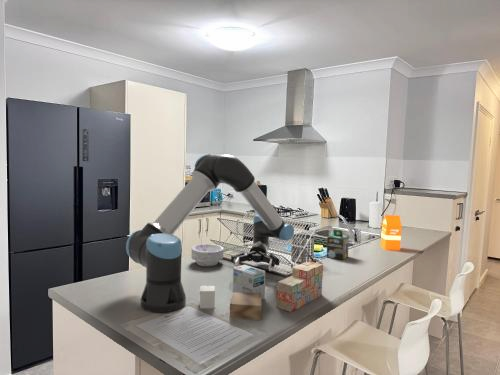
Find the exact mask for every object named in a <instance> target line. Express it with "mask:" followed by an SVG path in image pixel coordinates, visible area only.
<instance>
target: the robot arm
mask: <svg viewBox="0 0 500 375" xmlns="http://www.w3.org/2000/svg"><path fill="white" fill-rule="evenodd" d="M191 176H192V178H191V179H190V180H189V181H188V183H186V185H185V186H184V187H183V188H182V189H181V190H180V191H179V192H178V194H177V195H176V196H175V197H174V198H173V200H172V201H170V203H169V204H168V206H166V208H164V210H163V211H162V212H161V213H160V214H159V216H158V217H157V218H156V219H155V220H154V221H152V222H146V225H144V226H143V228H142V229H139V230H136V231H134V232H132V233H131V234H130V235H129V236H128V238H127V240H126V243H125V252H126V254H127V255H128V257H129V258H130V259H131V260H132V261H133V262H135V263H136V264H139V265H140V266H142V267H144V268H146V270H145V271H146V274H145V275H146V276H145V277H146V279H145V280H146V281H145V282H146V283H145V286H144V289H143V292H142V294H141V297H140V307H141V309H143V310H144V311H147V312H151V313H169V312H174V311H177V310H179V309H182V308H183V307H184V306H185V305H186V301H187V297H186V292H185V290H184V287H183V283H182V253H183V247H182V240H181V239H180V238H179V237H178V236H177V235H174V233H175V232H176V231H177V230H178V229H179V228H180V226H181V225H182V224H183V223H184V222H185V221H186V219H187V218H188V217H189V216H190V215H191V214H192V212H193V211H194V209H196V207H197V206H198V205H199V203H200V202H201V201H202V200H203V199H204V198H205V197H206V195H207V194H208V193H209V192H213V191H215V190H216V189H217V188H218V186H219V185H220V184H225V185H228V186H229V187H231V188H232V189H233V190H234V191H235V192H236V193H239V194H240V195H241V196H242V197H243V198H244V200H245V201H246V203H247V204H248V205H249V207H250V208H252V210H253V211H254V212H255V213H256V214H254V217H253V231H252V232H253V236H252V237H253V238H252V246H251V248H250V250H249V252H247V253H246V252H245V251H244V250H243V251H241V252H239V253H237V254H233V255H232V256H230V263H232V264H233V265H234V267H238V266H240V264H241V263H243V262H247V261H248V262H252V261H253V262H255V263H261V262H262V263H266V264H268V271H269V272H271V271H272V268H274V267H275V266H280V258H278V257H277V256H275V255H274V253H272V252H270V253H269V254H268V252H269V249H270V242H269V241H270V237H271V238H273V239H277V240H280V241H290V240H292V239H293V237H294V234H295V228H294V226H293V225H292V224H290V223H287V222H285V221H284V219H283V218H282V217H281V216H280V214H279V213H278V211H277V210H276V209H275V207H274V206H273V205H272V203H271V202H270V200H269V199H268V198H267V196H266V195H265V194H264V192H263V191H262V189H261V188H260V187H259V185H258V184H257V183H256V181H255V179H256V178H255V176H254V175H253V173H252V171H251V170H250V169H249V168H248V167H247V166H246V165H245V163H244V162H242V161H241V160H240V159H239V158H238V157H236V156H234V155H231V154H219V153H217V154H215V153H207V154H204V155H201V156H200V157H199V158H198V159H197V160H196V161H195V163H194V169H193V171H192V172H191Z"/></svg>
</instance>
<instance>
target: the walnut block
mask: <svg viewBox="0 0 500 375" xmlns="http://www.w3.org/2000/svg"><path fill="white" fill-rule="evenodd" d="M262 301H263V300H262V294H256V293H237V292H233V291H232V295H231V298H230V302H229V319H236V320H252V321H261V320H262Z"/></svg>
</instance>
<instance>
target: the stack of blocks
mask: <svg viewBox="0 0 500 375" xmlns="http://www.w3.org/2000/svg"><path fill="white" fill-rule="evenodd" d="M323 271H324V264H323V263H319V262H314V261H311V260H309V261H307V262H301V263H300V264H298V265H295V266H293V267H292V270H291V275H290V276H288V277H286V278H283V279H281V280H279V281H277V291H276V308H279V309H281V310H284V311H288V312H290V313H292V312H294V311H296V310H297V309H300V308H301V307H303V306H305V305H306V304H308V303H309V302H312V301H314V300H315V299H317V298H319V297H321V296H322V295H323V294H322V291H323V278H324V277H323V276H324V272H323Z"/></svg>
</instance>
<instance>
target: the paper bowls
mask: <svg viewBox="0 0 500 375" xmlns="http://www.w3.org/2000/svg"><path fill="white" fill-rule="evenodd" d="M224 250H225V249H224V247H223V246H221V245H218V244H214V243H201V244H200V243H199V244H195V245H193V246H192V247H191V255H190V256H191V259H192V260H193V261H195V263H196V264H197V265H199V266H200V267H213V266H216V265H218V263H219V262H220V261H221V260H223V258H224Z"/></svg>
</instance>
